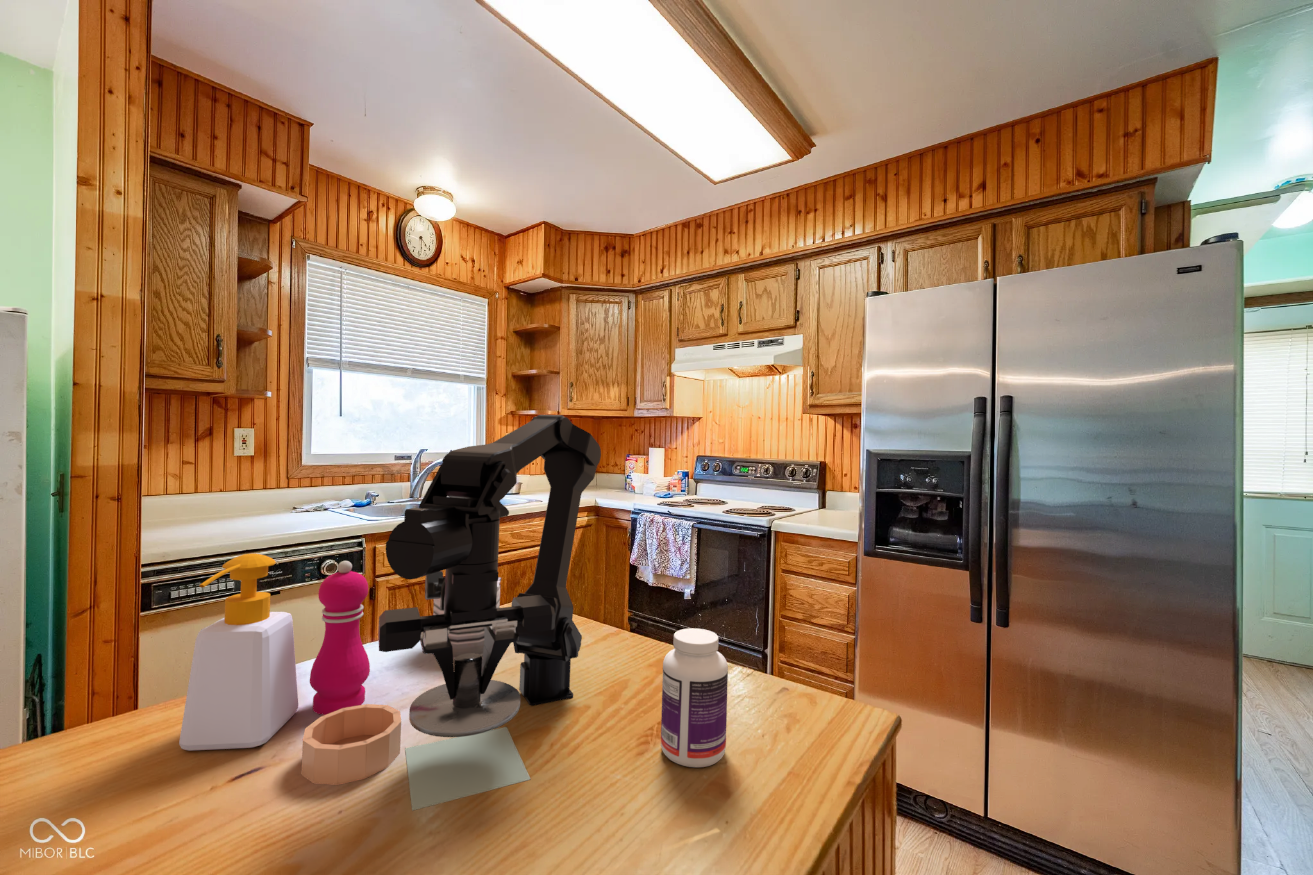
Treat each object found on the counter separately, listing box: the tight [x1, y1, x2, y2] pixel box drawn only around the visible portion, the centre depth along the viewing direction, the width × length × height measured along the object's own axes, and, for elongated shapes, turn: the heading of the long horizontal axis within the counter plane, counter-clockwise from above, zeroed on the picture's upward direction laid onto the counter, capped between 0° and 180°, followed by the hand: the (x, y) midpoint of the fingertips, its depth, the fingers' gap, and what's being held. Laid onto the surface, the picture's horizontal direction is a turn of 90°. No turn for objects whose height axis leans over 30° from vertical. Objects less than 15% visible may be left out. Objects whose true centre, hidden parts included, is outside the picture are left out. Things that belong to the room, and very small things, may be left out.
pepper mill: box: [309, 560, 371, 716], centre depth 75 cm, size 7×7×20 cm
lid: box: [408, 653, 521, 738], centre depth 62 cm, size 12×12×6 cm
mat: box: [404, 726, 531, 812], centre depth 63 cm, size 12×12×1 cm
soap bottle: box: [178, 552, 299, 751], centre depth 66 cm, size 10×14×22 cm
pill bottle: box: [660, 627, 729, 768], centre depth 67 cm, size 8×8×14 cm
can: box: [432, 576, 502, 661], centre depth 97 cm, size 11×11×12 cm
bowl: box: [300, 703, 402, 786], centre depth 63 cm, size 10×10×4 cm
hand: (466, 695), depth 62 cm, fingers closed on lid, 3 cm apart
